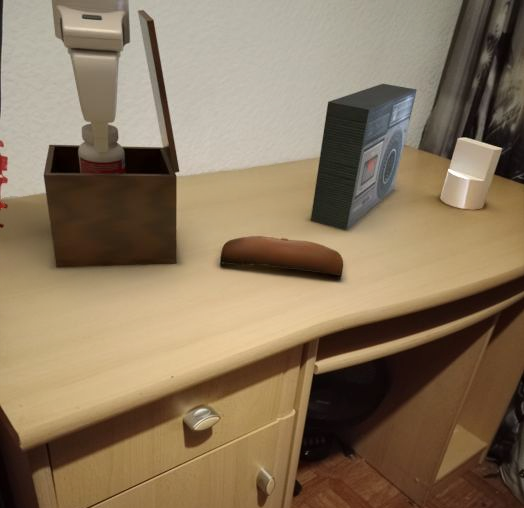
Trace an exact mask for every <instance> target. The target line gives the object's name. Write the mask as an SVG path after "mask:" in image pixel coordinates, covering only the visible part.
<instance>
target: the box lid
mask: <svg viewBox="0 0 524 508" xmlns="http://www.w3.org/2000/svg"><path fill="white" fill-rule="evenodd" d="M137 15H138V20H139V26H140V30H141V31H140V32H141V36H142V41H143V47H144V52H145V58H146V64H147V69H148V74H149V80H150V86H151V90H152V97H153V101H154V107H155V112H156V118H157V124H158V129H159V134H160V140H161V144H162V147H164V150H165V152H166V155H167V157H168V160H169V162H170V165H171V167H172V170H173V172H174V173H175V174H176V173H180V165H179V160H178V155H177V149H176V148H177V147H176V143H175V137H174V132H173V125H172V124H173V123H172V120H171V113H170V108H169V102H168V96H167V90H166V84H165V79H164V72H163V67H162V61H161V56H160V49H159V44H158V38H157V31H156V26H155V20H154V19H153V18H152V17H151V16H150V15H149V14H148V13H147V12H146V10H144V9H140V10H139V9H138V10H137Z"/></svg>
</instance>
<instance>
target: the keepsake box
mask: <svg viewBox="0 0 524 508" xmlns="http://www.w3.org/2000/svg"><path fill="white" fill-rule="evenodd" d="M80 145H81V144H80ZM80 145H77V144H48V149H47V154H46V160H45V165H44V171H43V182H44V188H45V189H44V190H45V196H46V204H47V211H48V218H49V223H50V225H49V226H50V233H51V239H52V246H53V253H54V261H55V267H56V268H67V267H68V268H69V267H99V266H100V267H102V266H129V265H130V266H132V265H134V266H135V265H160V264H161V265H165V264H177V243H178V242H177V241H178V240H177V235H178V234H177V233H178V232H177V230H178V229H177V227H178V226H177V224H178V223H177V222H178V221H177V219H178V217H177V213H178V211H177V209H178V208H177V200H178V199H177V195H178V193H177V190H178V189H177V187H178V186H177V185H178V183H177V182H178V181H177V179H178V178H177V174H176V173H174V172H173V170H172V167H171V165H170V162H169V160H168V157H167V155H166V152H165V150H164V147H163V146H161V147H160V146H159V147H158V146H126V145H125V146H122V145H121V146H122V148H123V149H124V153H125V169H126V174H106V173H80V166H79V157H78V149H79V146H80Z"/></svg>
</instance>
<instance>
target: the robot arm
mask: <svg viewBox="0 0 524 508" xmlns="http://www.w3.org/2000/svg"><path fill="white" fill-rule="evenodd" d="M129 1H130V0H51V7H52V17H53V25H54V26H53V27H54V35H55V37H56V38H57V39H59V40H60V41H62V43H63V46H64V48H67V53H68V55H69V56H70V61H71V65H72V70H73V71H72V72H73V76H74V80H75V87H76V91H77V97H78V102H79V107H80V110H81V115H82V117H83V120H84V121H85V122H86V123H87V122H88V123H90V124H91V128H92V134H93V141H94V149H95V151H96V152H107V151H108V150H109V145H108V128H109V125H110V124H112V123H114V122H115V121H116V115H117V104H118V83H119V64H120V63H119V62H120V58H121V57H122V56H121V52H123V51H124V47H125V46H126V45H128V44H130V43H131V27H130V26H131V25H130V2H129ZM108 124H109V125H108Z"/></svg>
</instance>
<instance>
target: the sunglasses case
mask: <svg viewBox="0 0 524 508" xmlns="http://www.w3.org/2000/svg"><path fill="white" fill-rule="evenodd" d="M219 259H220V261H219V262H220V263H219V264H220V265H221V264H227V265H245V266H249V265H253V266H268V267H274V268H280V269H290V270H291V269H292V270H299V271H305V272H314V273H315V272H316V273H321V274H329V275H334V276H338V277H339V278H342V276H343V269H344V260H343V257H342V255H341V254H340V252H339V251H337V250H335V249H333V248H330V247H328V246H326V245H323V244H320V243H317V242H313V241H307V240H297V239H289V238H285V237H281V238H278V237H271V236H264V235H251V236H242V237H237V238H233V239H229V240H227V241H225V243H224V244H223V246H222V249H221V253H220V258H219Z"/></svg>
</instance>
